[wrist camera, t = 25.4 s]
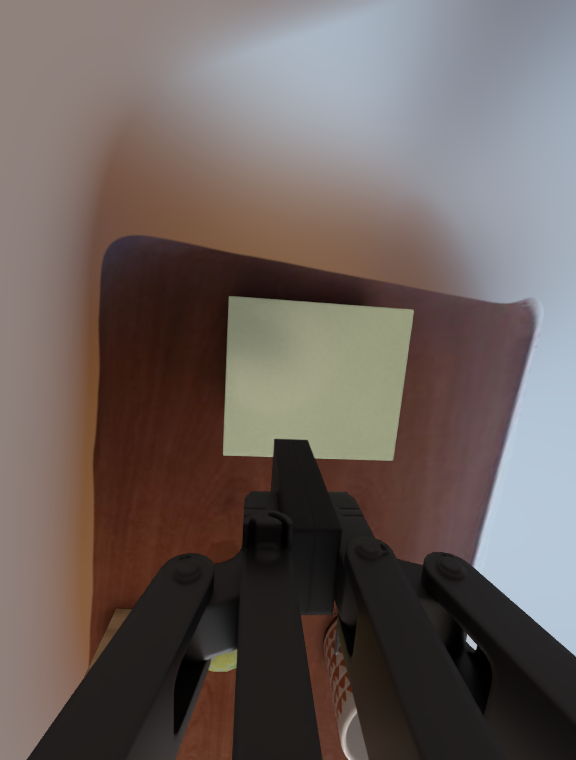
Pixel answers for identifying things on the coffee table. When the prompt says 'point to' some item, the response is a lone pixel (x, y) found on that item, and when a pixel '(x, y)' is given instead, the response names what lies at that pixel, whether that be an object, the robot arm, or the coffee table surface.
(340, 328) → the lid
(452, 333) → the coffee table surface
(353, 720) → the planter
